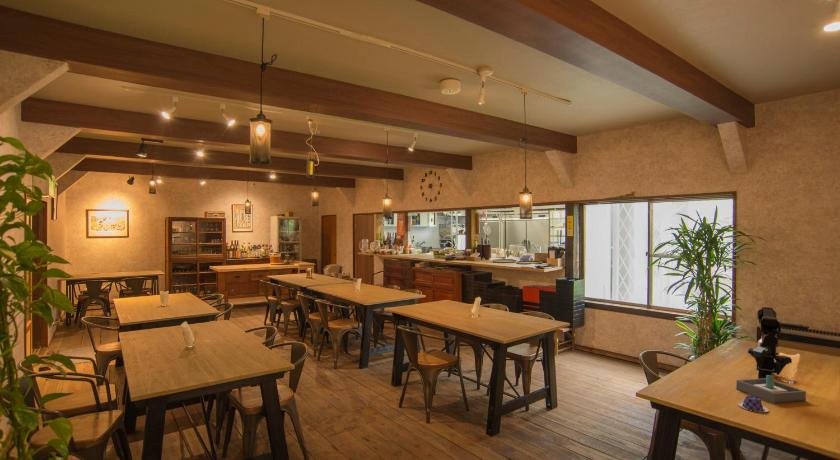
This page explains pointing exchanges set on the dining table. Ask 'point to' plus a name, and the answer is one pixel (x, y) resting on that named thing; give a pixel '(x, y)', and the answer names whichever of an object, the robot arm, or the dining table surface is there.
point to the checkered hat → (753, 404)
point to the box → (771, 391)
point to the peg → (769, 382)
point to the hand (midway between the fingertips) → (768, 371)
